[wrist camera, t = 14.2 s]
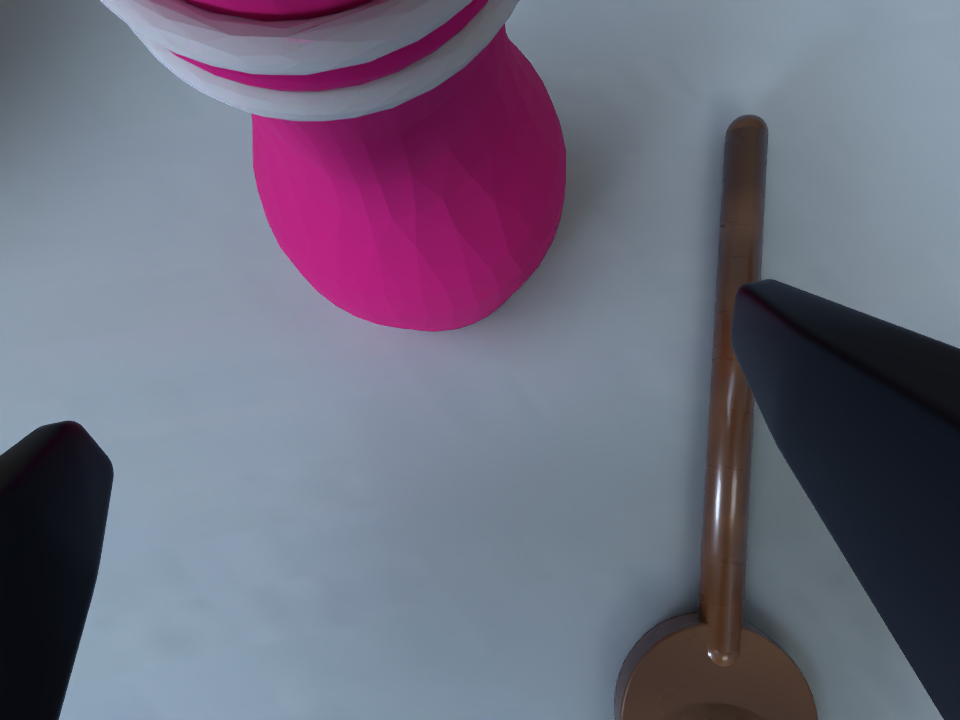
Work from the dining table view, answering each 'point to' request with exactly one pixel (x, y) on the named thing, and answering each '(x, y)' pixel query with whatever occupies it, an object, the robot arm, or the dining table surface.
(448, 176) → the pepper mill
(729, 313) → the spoon
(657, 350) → the dining table surface
